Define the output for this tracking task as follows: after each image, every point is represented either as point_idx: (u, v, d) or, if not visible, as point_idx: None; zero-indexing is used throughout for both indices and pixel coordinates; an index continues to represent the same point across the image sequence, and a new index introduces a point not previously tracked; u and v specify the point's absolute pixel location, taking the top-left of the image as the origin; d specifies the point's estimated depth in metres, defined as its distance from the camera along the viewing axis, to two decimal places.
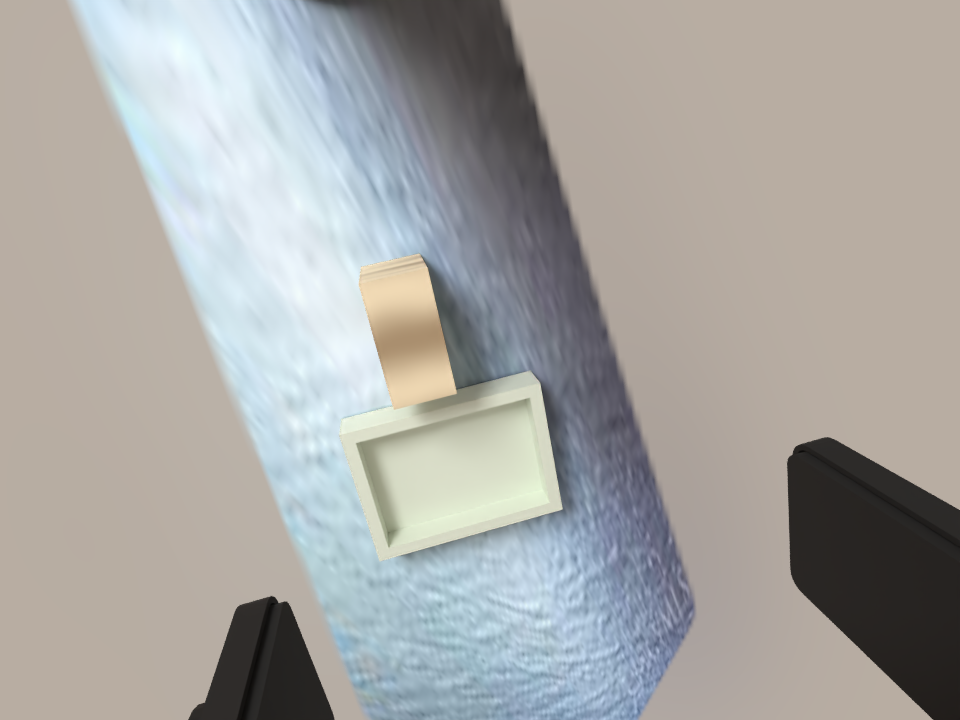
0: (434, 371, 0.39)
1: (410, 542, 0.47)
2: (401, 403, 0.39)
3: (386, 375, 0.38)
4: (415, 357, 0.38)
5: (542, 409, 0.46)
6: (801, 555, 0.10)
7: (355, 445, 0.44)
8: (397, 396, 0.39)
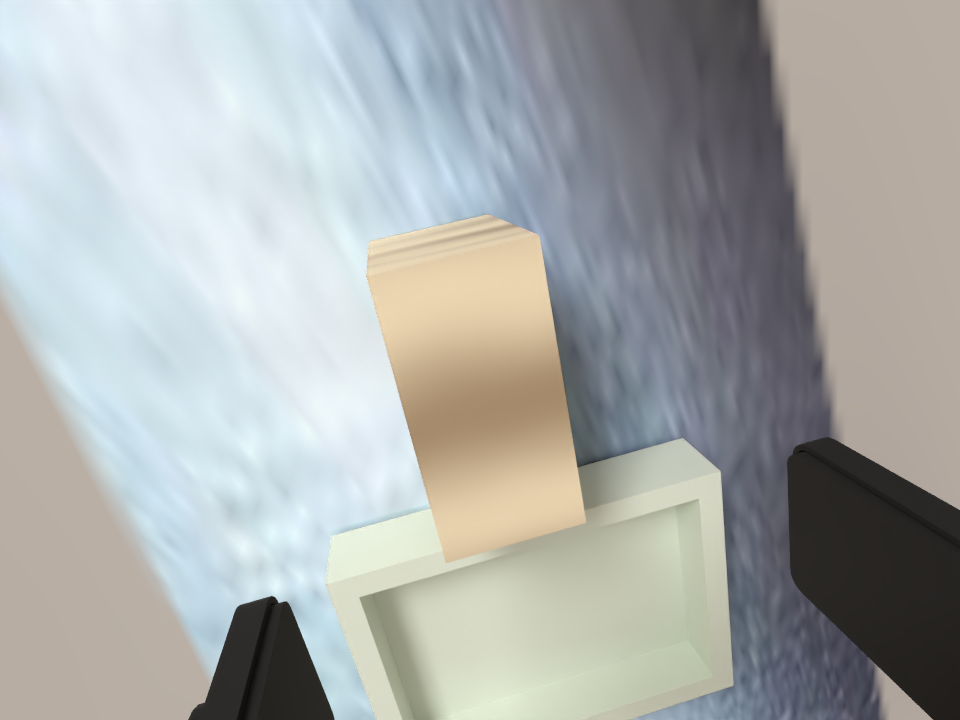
0: (540, 478, 0.17)
1: None
2: (462, 549, 0.17)
3: (431, 491, 0.16)
4: (499, 449, 0.16)
5: (719, 519, 0.24)
6: (802, 555, 0.10)
7: (358, 601, 0.22)
8: (454, 534, 0.17)
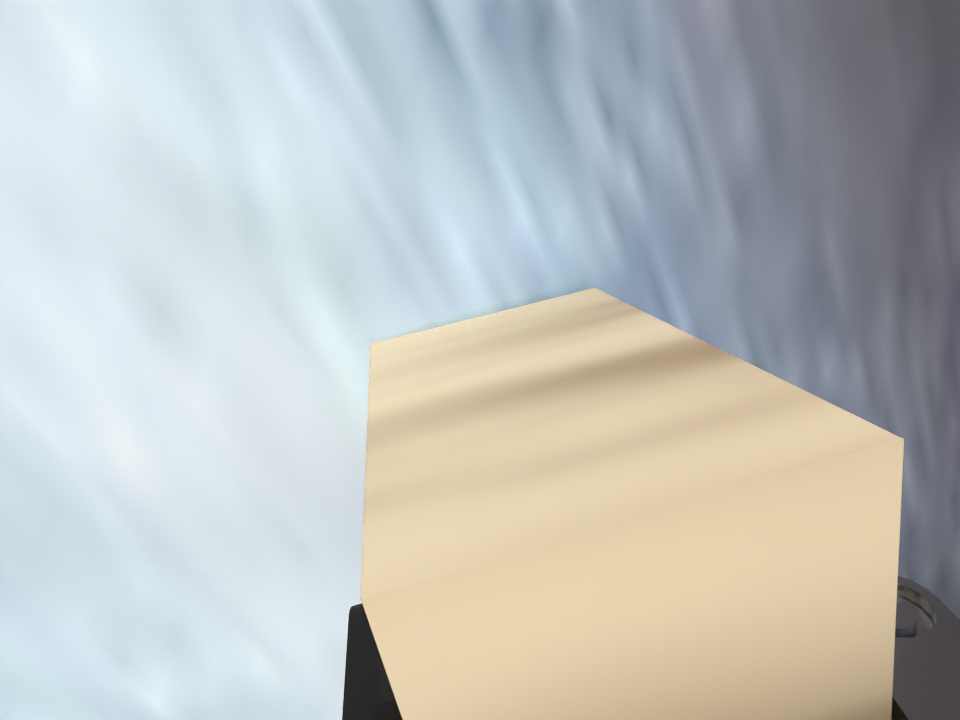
0: None
1: None
2: None
3: None
4: None
5: None
6: None
7: None
8: None
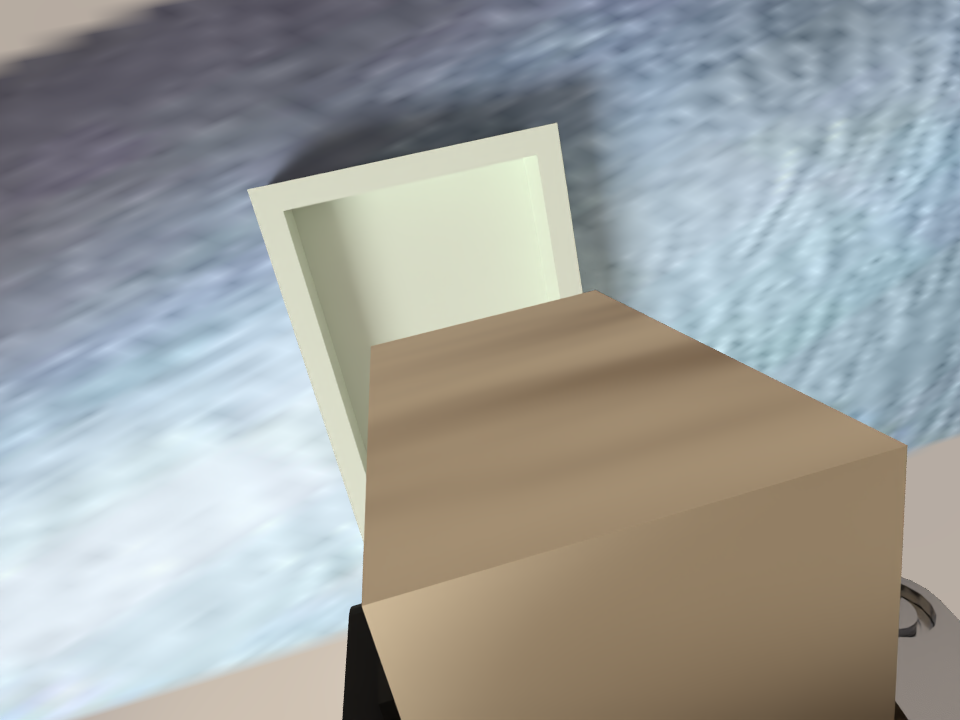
0: None
1: None
2: None
3: None
4: None
5: (310, 181, 0.21)
6: None
7: None
8: None
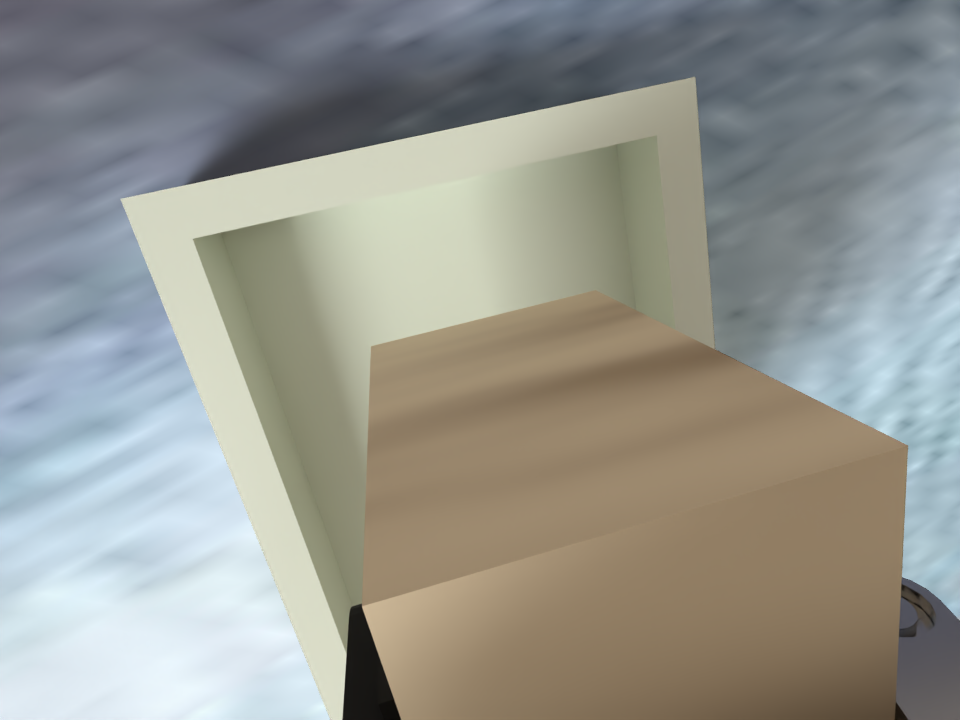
0: None
1: None
2: None
3: None
4: None
5: (243, 183, 0.11)
6: None
7: None
8: None
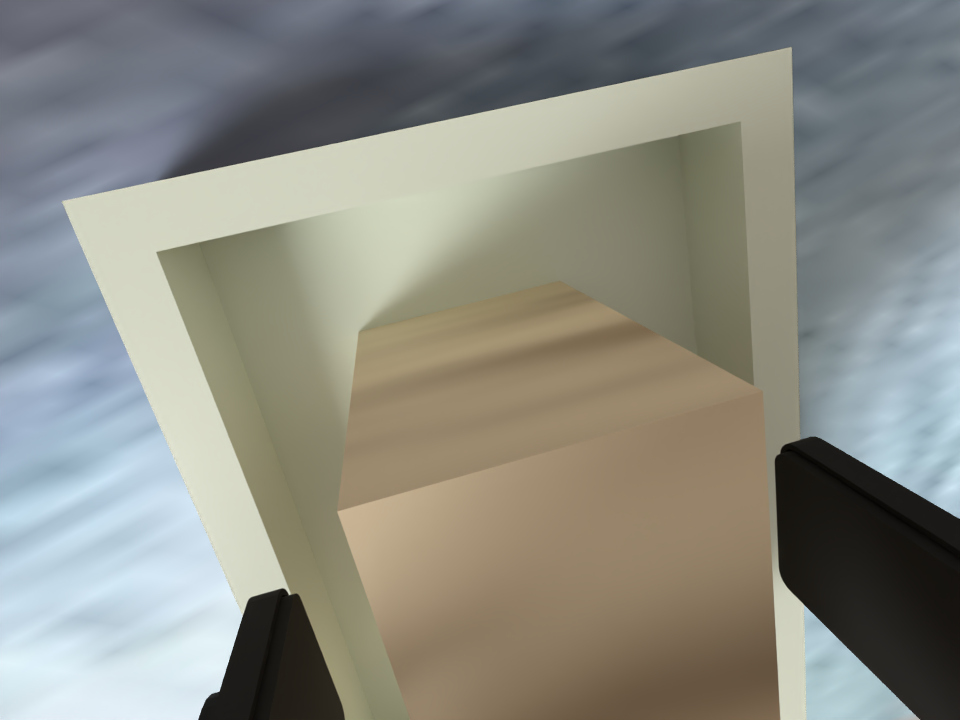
0: None
1: None
2: None
3: None
4: None
5: (220, 181, 0.09)
6: (789, 553, 0.11)
7: None
8: None
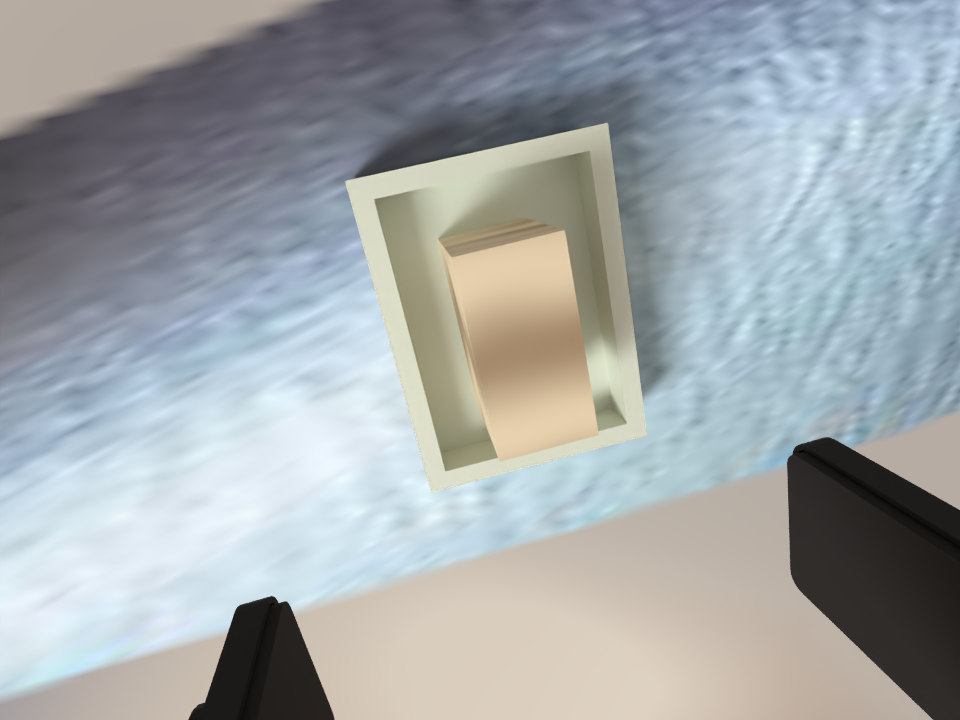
0: (565, 401, 0.24)
1: (624, 391, 0.30)
2: (511, 452, 0.24)
3: (490, 407, 0.24)
4: (537, 379, 0.24)
5: (397, 174, 0.25)
6: (801, 555, 0.10)
7: (449, 471, 0.30)
8: (506, 440, 0.24)
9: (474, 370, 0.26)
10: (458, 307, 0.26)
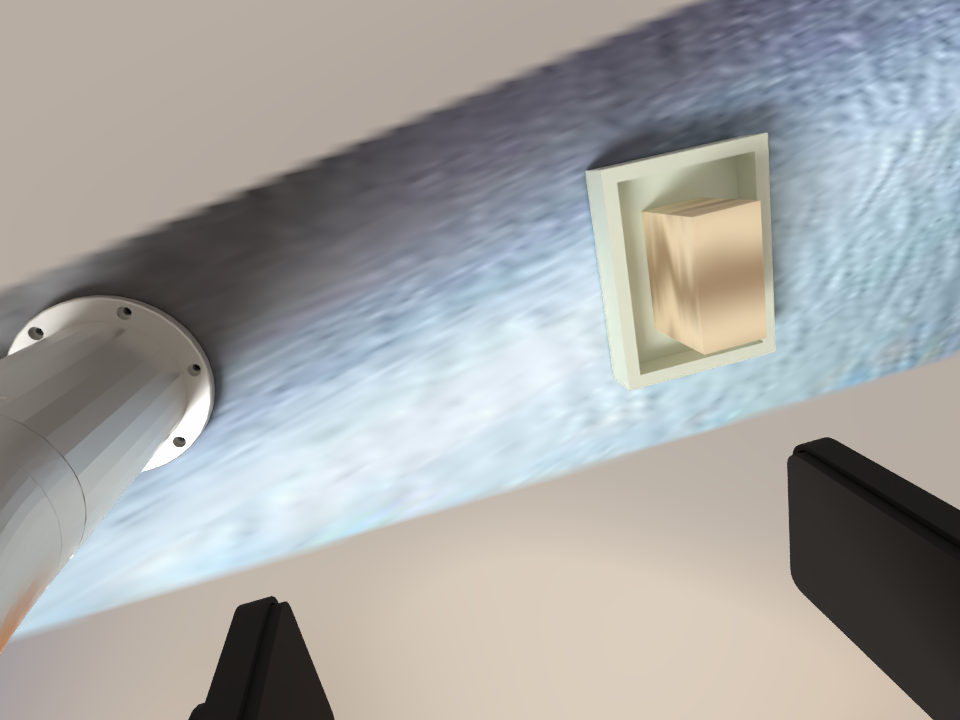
0: (749, 313, 0.37)
1: None
2: (712, 348, 0.37)
3: (703, 317, 0.37)
4: (733, 298, 0.36)
5: (633, 165, 0.38)
6: (801, 555, 0.10)
7: (642, 375, 0.42)
8: (709, 340, 0.37)
9: (680, 297, 0.38)
10: (670, 254, 0.38)
